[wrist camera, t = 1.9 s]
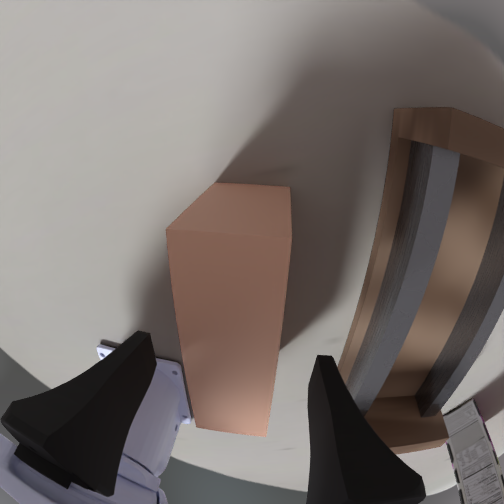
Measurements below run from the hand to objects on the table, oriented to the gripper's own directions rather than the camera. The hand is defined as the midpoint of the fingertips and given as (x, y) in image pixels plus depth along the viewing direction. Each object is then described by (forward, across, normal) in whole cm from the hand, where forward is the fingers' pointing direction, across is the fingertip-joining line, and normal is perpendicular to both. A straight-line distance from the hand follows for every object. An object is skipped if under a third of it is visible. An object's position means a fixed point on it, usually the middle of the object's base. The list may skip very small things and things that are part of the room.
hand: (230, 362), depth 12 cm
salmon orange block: (+7, 0, 0) cm, 7 cm away
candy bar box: (+7, -27, +18) cm, 33 cm away
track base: (+7, -12, 0) cm, 14 cm away
